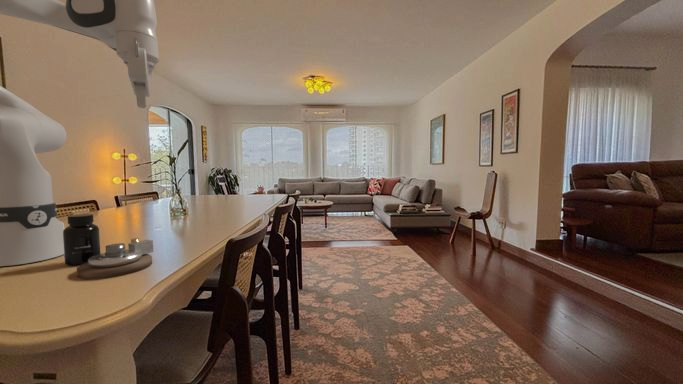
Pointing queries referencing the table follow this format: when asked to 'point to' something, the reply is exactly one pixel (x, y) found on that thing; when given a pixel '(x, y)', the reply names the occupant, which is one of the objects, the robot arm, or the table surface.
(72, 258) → the supplement bottle
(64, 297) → the table surface
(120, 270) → the walnut base
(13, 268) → the table surface
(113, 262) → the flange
